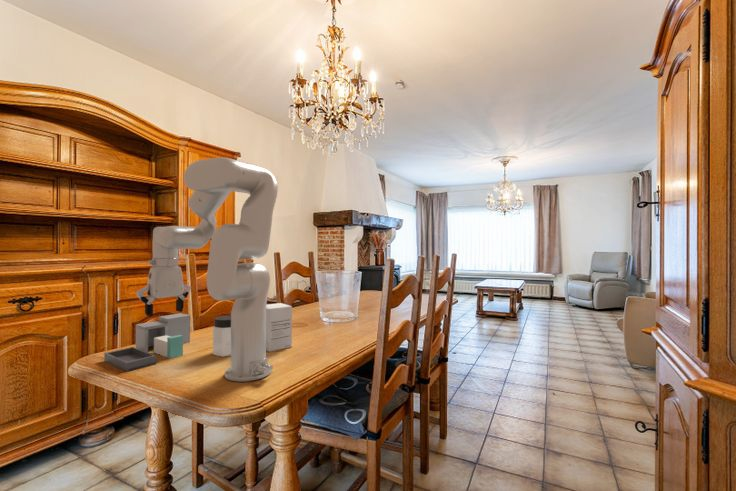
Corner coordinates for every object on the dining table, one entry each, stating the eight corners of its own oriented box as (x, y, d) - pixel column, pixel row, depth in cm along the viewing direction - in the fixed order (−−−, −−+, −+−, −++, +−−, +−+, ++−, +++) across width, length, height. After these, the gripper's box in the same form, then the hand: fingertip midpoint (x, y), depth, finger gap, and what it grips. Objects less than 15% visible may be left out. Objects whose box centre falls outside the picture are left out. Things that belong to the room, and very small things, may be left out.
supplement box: (257, 346, 125) (258, 305, 125) (280, 341, 131) (280, 302, 131) (269, 352, 118) (269, 308, 118) (292, 347, 124) (292, 305, 124)
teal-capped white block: (182, 355, 114) (182, 335, 114) (170, 358, 111) (170, 338, 111) (166, 349, 120) (166, 330, 120) (153, 352, 117) (153, 333, 117)
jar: (215, 358, 111) (215, 321, 111) (210, 351, 118) (211, 316, 118) (243, 353, 116) (243, 318, 116) (238, 347, 123) (238, 314, 123)
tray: (156, 363, 106) (156, 355, 106) (126, 371, 99) (126, 363, 99) (132, 354, 115) (132, 346, 115) (104, 360, 108) (104, 353, 108)
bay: (190, 341, 130) (190, 315, 130) (144, 352, 117) (144, 323, 117) (180, 338, 134) (180, 313, 133) (135, 348, 121) (135, 320, 121)
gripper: (142, 265, 107) (141, 319, 107) (196, 262, 122) (195, 311, 122) (131, 263, 111) (131, 316, 112) (185, 261, 126) (184, 308, 126)
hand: (164, 313), depth 117 cm, fingers open, 9 cm apart
